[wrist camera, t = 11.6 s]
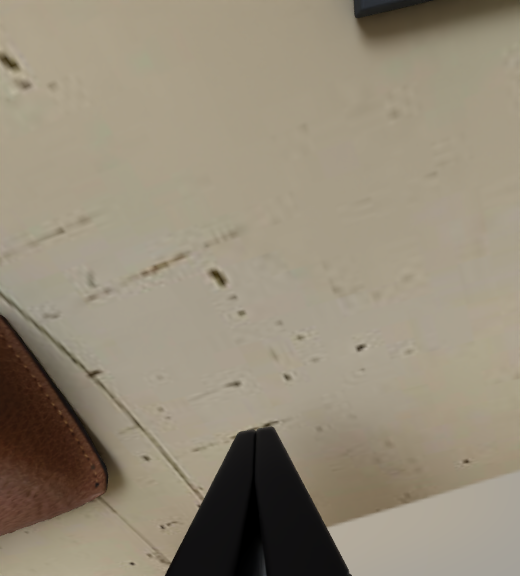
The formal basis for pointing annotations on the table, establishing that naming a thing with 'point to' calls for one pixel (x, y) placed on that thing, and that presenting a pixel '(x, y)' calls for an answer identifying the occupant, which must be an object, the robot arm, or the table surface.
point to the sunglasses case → (40, 443)
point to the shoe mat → (381, 6)
